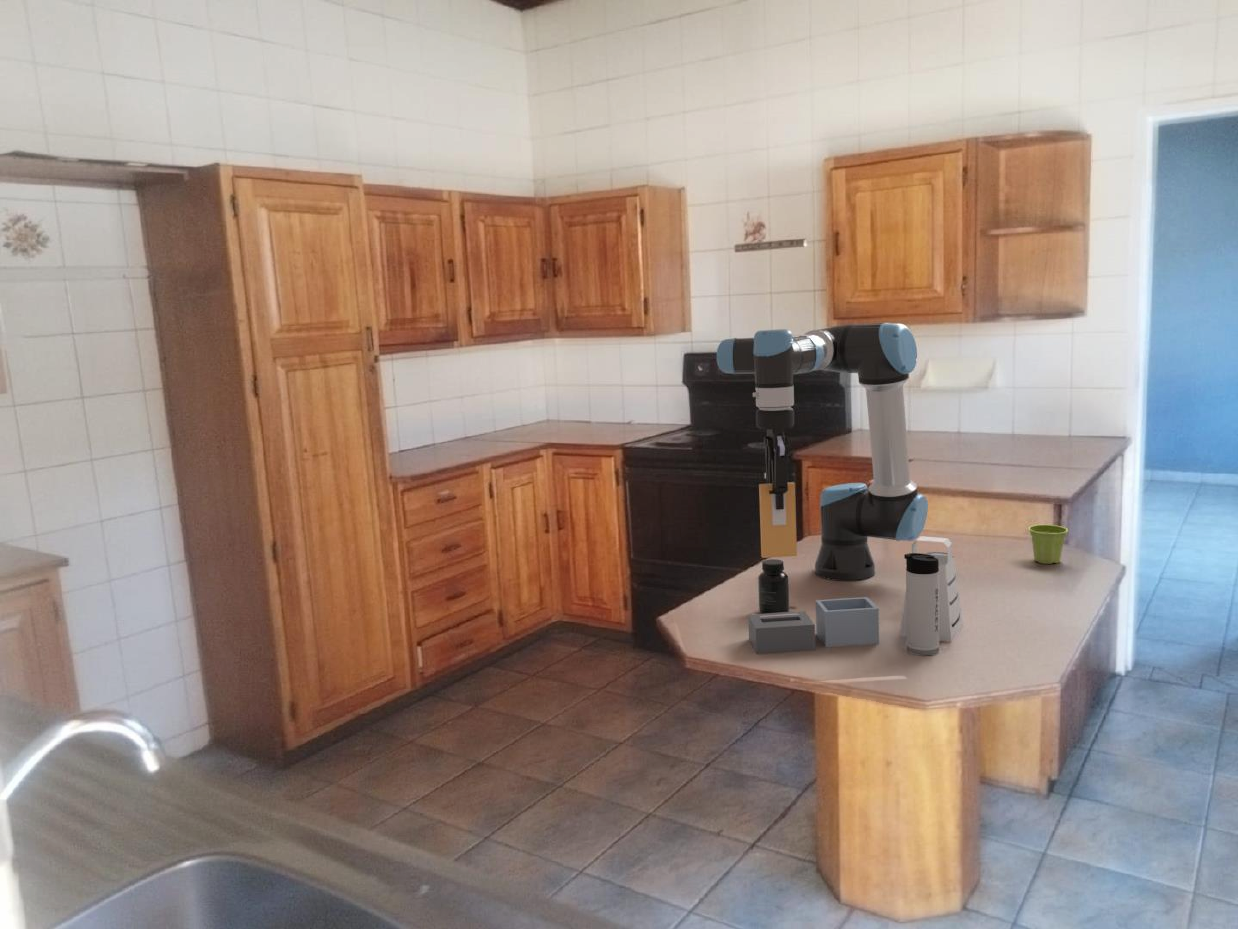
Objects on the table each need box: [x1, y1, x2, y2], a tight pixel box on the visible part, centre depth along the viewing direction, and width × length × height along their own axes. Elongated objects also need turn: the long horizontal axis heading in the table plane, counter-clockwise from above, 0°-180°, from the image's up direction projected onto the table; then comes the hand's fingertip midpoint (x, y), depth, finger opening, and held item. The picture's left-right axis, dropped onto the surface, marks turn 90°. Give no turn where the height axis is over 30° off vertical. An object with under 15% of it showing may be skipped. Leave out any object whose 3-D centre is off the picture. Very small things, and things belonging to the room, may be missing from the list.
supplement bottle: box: [757, 558, 790, 614], centre depth 224 cm, size 7×7×12 cm
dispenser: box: [747, 610, 816, 655], centre depth 201 cm, size 12×9×6 cm
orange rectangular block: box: [758, 481, 798, 559], centre depth 198 cm, size 7×2×15 cm, turn 92°
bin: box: [815, 596, 880, 648], centre depth 203 cm, size 8×11×8 cm
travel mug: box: [904, 552, 940, 657], centre depth 194 cm, size 6×7×20 cm
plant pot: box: [1027, 524, 1069, 565], centre depth 253 cm, size 9×9×9 cm
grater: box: [899, 535, 964, 643], centre depth 205 cm, size 10×10×20 cm
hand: (778, 523), depth 198 cm, fingers closed on orange rectangular block, 1 cm apart
